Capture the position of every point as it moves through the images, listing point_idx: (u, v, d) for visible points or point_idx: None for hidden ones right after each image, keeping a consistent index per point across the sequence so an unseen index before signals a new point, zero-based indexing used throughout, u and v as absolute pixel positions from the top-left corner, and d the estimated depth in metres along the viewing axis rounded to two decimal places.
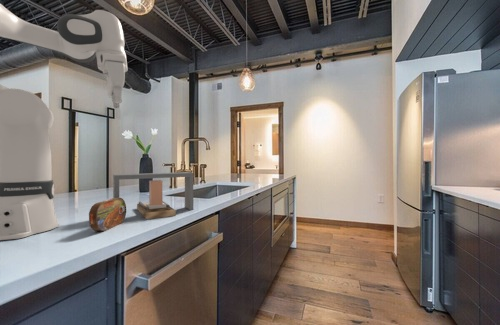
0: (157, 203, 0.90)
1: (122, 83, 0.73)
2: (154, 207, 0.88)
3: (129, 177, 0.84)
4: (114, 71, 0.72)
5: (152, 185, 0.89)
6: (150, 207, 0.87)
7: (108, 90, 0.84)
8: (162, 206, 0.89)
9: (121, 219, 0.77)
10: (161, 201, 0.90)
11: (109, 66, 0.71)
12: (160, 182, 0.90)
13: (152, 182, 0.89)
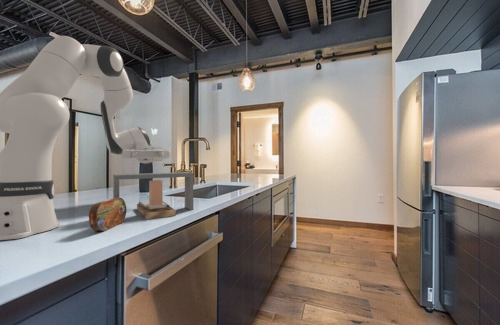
0: (157, 203, 0.90)
1: (169, 156, 1.12)
2: (154, 207, 0.88)
3: (129, 177, 0.84)
4: None
5: (152, 185, 0.89)
6: (150, 207, 0.87)
7: (133, 150, 1.05)
8: (162, 206, 0.89)
9: (121, 219, 0.77)
10: (161, 201, 0.90)
11: None
12: (160, 182, 0.90)
13: (152, 182, 0.89)
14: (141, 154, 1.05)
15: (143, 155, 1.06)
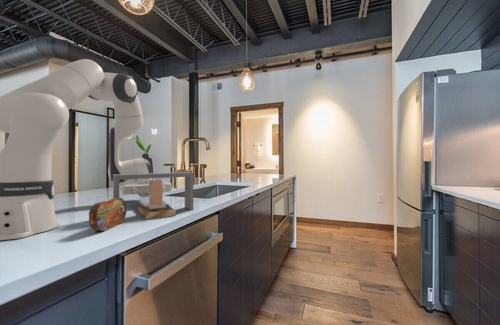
0: (157, 203, 0.90)
1: (170, 190, 1.09)
2: (154, 207, 0.88)
3: (129, 177, 0.84)
4: None
5: (152, 185, 0.89)
6: (150, 207, 0.87)
7: (133, 185, 1.01)
8: (162, 206, 0.89)
9: (121, 219, 0.77)
10: (161, 201, 0.90)
11: None
12: (160, 182, 0.90)
13: (152, 182, 0.89)
14: (141, 189, 1.02)
15: (143, 190, 1.03)
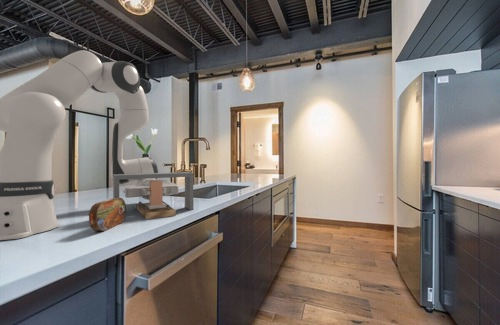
0: (157, 203, 0.90)
1: (177, 192, 1.00)
2: (154, 207, 0.88)
3: (129, 177, 0.84)
4: None
5: (152, 185, 0.89)
6: (150, 207, 0.87)
7: (137, 187, 0.93)
8: (162, 206, 0.89)
9: (121, 219, 0.77)
10: (161, 201, 0.90)
11: None
12: (160, 182, 0.90)
13: (152, 182, 0.89)
14: None
15: None
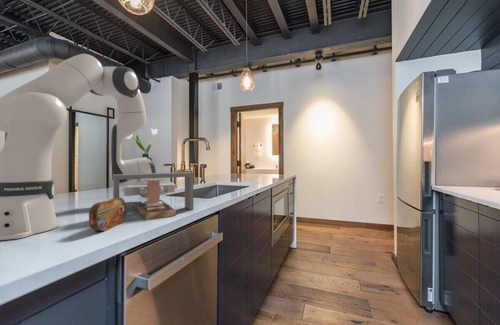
0: (154, 201, 0.94)
1: (174, 191, 1.04)
2: (151, 205, 0.92)
3: (129, 177, 0.84)
4: None
5: (149, 184, 0.93)
6: (148, 205, 0.91)
7: (136, 186, 0.97)
8: (159, 204, 0.93)
9: (121, 219, 0.77)
10: (158, 199, 0.95)
11: None
12: (157, 181, 0.94)
13: (149, 181, 0.93)
14: None
15: None
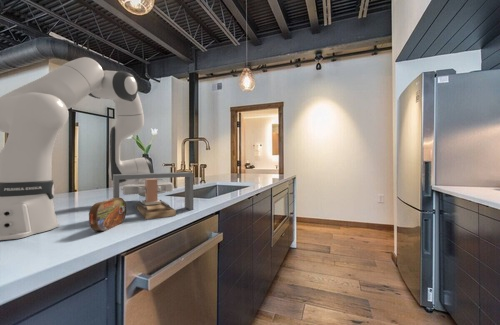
0: (152, 200, 0.97)
1: (172, 190, 1.07)
2: (149, 203, 0.95)
3: (129, 177, 0.84)
4: None
5: (148, 183, 0.96)
6: (146, 203, 0.94)
7: (134, 185, 1.00)
8: (157, 202, 0.97)
9: (121, 219, 0.77)
10: (156, 198, 0.98)
11: None
12: (155, 180, 0.98)
13: (148, 180, 0.96)
14: None
15: None
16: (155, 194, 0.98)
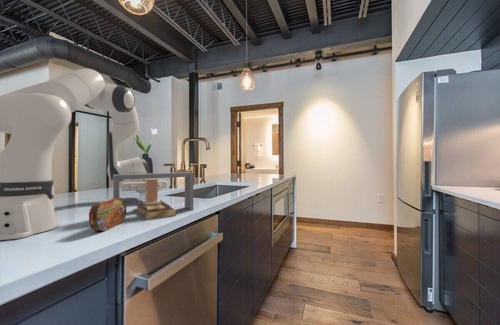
0: (152, 200, 0.97)
1: (166, 187, 1.16)
2: (149, 203, 0.95)
3: (129, 177, 0.84)
4: None
5: (148, 183, 0.96)
6: (146, 203, 0.94)
7: (132, 182, 1.09)
8: (157, 202, 0.97)
9: (121, 219, 0.77)
10: (156, 198, 0.98)
11: None
12: (155, 180, 0.98)
13: (148, 180, 0.96)
14: (139, 186, 1.10)
15: (141, 187, 1.11)
16: (155, 194, 0.98)
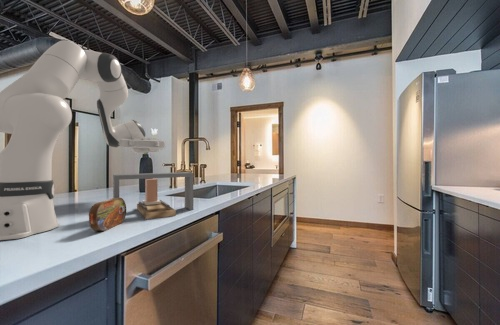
0: (152, 200, 0.97)
1: (164, 147, 1.18)
2: (149, 203, 0.95)
3: (129, 177, 0.84)
4: None
5: (148, 183, 0.96)
6: (146, 203, 0.94)
7: (130, 139, 1.11)
8: (157, 202, 0.97)
9: (121, 219, 0.77)
10: (156, 198, 0.98)
11: None
12: (155, 180, 0.98)
13: (148, 180, 0.96)
14: (138, 144, 1.12)
15: (139, 145, 1.12)
16: (155, 194, 0.98)
